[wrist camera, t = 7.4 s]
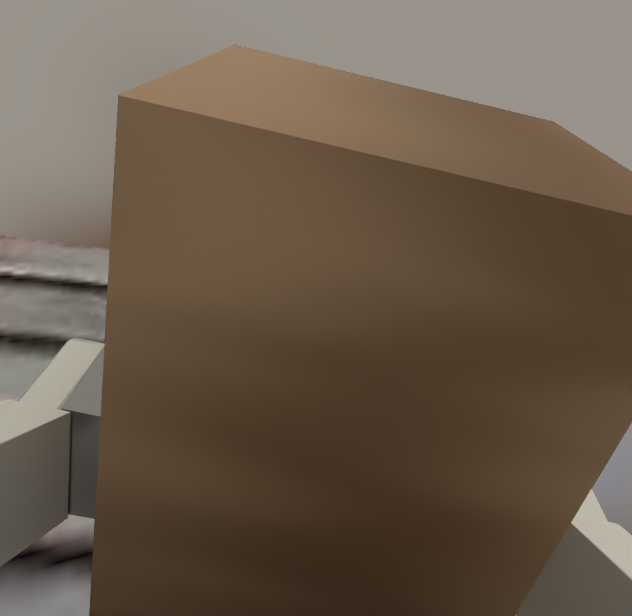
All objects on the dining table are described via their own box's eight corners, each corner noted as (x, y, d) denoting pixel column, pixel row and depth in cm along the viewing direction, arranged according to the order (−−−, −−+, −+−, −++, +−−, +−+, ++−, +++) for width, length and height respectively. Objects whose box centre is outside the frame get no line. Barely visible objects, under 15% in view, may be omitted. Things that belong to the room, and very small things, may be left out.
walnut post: (76, 852, 10) (118, 93, 4) (156, 601, 14) (234, 44, 8) (345, 896, 10) (741, 240, 4) (347, 637, 14) (553, 121, 8)
